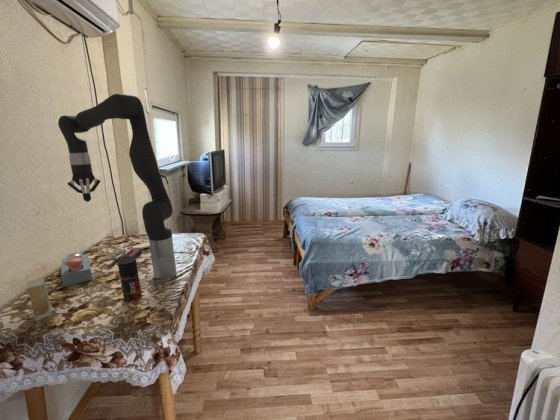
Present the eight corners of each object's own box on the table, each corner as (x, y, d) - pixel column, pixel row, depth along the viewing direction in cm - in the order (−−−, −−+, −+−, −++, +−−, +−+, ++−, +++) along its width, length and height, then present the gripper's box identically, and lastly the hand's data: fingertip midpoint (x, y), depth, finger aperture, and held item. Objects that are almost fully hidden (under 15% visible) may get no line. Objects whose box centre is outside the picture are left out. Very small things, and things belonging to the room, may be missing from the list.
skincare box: (36, 312, 103) (27, 280, 99) (51, 307, 105) (44, 276, 102) (35, 321, 98) (26, 288, 94) (51, 316, 100) (43, 283, 97)
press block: (92, 279, 125) (90, 268, 124) (63, 286, 120) (61, 275, 119) (89, 263, 141) (87, 253, 140) (64, 269, 136) (61, 259, 134)
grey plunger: (84, 268, 134) (81, 255, 132) (69, 271, 131) (66, 258, 129) (84, 264, 138) (81, 251, 137) (69, 267, 135) (66, 254, 134)
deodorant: (130, 303, 107) (123, 265, 103) (120, 298, 110) (114, 261, 106) (144, 295, 112) (139, 259, 108) (135, 291, 115) (129, 256, 111)
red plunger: (85, 275, 125) (82, 261, 123) (69, 278, 122) (66, 264, 120) (84, 270, 129) (81, 256, 128) (69, 273, 126) (66, 260, 125)
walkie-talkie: (127, 252, 155) (106, 269, 135) (125, 244, 154) (104, 260, 134) (143, 252, 155) (125, 269, 135) (142, 244, 154) (123, 260, 134)
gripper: (62, 164, 123) (70, 205, 127) (99, 162, 130) (105, 200, 135) (62, 163, 129) (69, 202, 133) (97, 161, 136) (103, 197, 141)
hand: (87, 201), depth 134 cm, fingers closed
